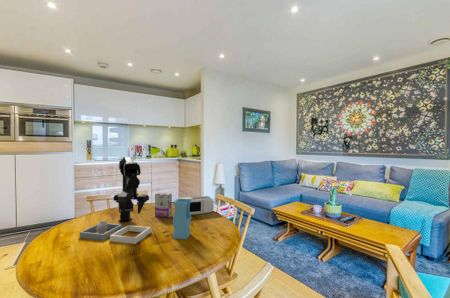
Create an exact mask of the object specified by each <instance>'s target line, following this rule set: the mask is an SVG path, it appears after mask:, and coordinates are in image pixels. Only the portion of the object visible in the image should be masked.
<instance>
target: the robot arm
mask: <svg viewBox="0 0 450 298" xmlns="http://www.w3.org/2000/svg"><path fill="white" fill-rule="evenodd" d="M118 170H119V172H120V174H121V175H122V192H120V193H118V194H114V196H113V201H115V203H117V204H118V205H117V207H118V208H117V209H118V213H119V214H120V215H119V220H118V221H117V222H122V223H128V222H129V221H132V220H133V217H131V212H133V211H134V206H135V205H134V202H133V201H134V200H136V201H137V202H136V204H137V214H138V215H139V214H140V213H141V211H142V209H143V207H144V205H145V204H146V203H147V202H149V201H150V196H149V194H141V195H139V193H138V189H139V186H140V184H141V182H140V181H141V180H140V179H139V178H138V176H140V175H141V165H140V164H139V163H138V162H137V161H134V160H133V157H132V156H123V157H122V159H120V161H119V163H118Z"/></svg>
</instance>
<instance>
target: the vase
mask: <svg viewBox="0 0 450 298" xmlns="http://www.w3.org/2000/svg"><path fill="white" fill-rule="evenodd" d="M176 199H177V200H176ZM176 199H175V200H174V201H173V205H174V215H173V219H172V224H173V235H172V239H176V240H177V239H178V240H186V239H187V240H188V239H189V237H190V236H191V230H190V229H191V228H190V227H191V221H192V215H191V214H190V210H189V207H190V202H191V199H178V198H176Z"/></svg>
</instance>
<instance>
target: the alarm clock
mask: <svg viewBox="0 0 450 298" xmlns="http://www.w3.org/2000/svg"><path fill="white" fill-rule="evenodd" d="M177 199H191V202H190V207H189V210H190V214H191V216H192V215H193V216H194V215H200V214H201V215H202V214H210V213H211V212H213V211H214V208H215V207H214V205H215V204H214V203H215V202H214V199H213V198H211V197H210V195H209V196H208V195H206V196H204V195H203V196H194V197H193V196H188V197H186V196H185V197H178V198H176V199H175V200H177Z"/></svg>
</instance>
